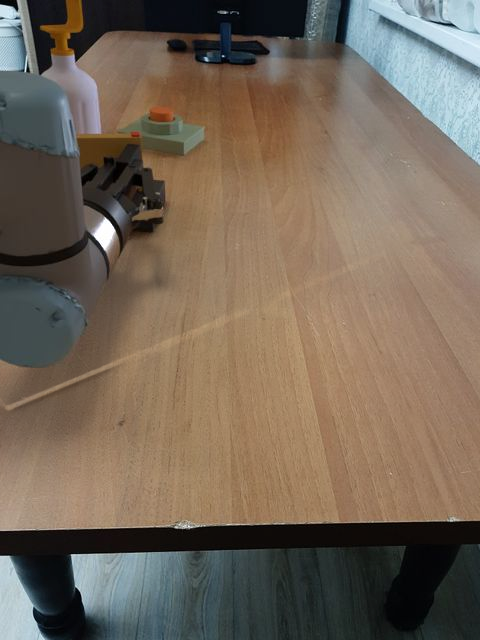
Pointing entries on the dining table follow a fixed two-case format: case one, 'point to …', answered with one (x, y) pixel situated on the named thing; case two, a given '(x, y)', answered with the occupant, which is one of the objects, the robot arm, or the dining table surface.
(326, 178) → the dining table surface
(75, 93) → the soap bottle
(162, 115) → the button
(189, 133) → the button box
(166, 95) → the dining table surface
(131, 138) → the yellow angular block
